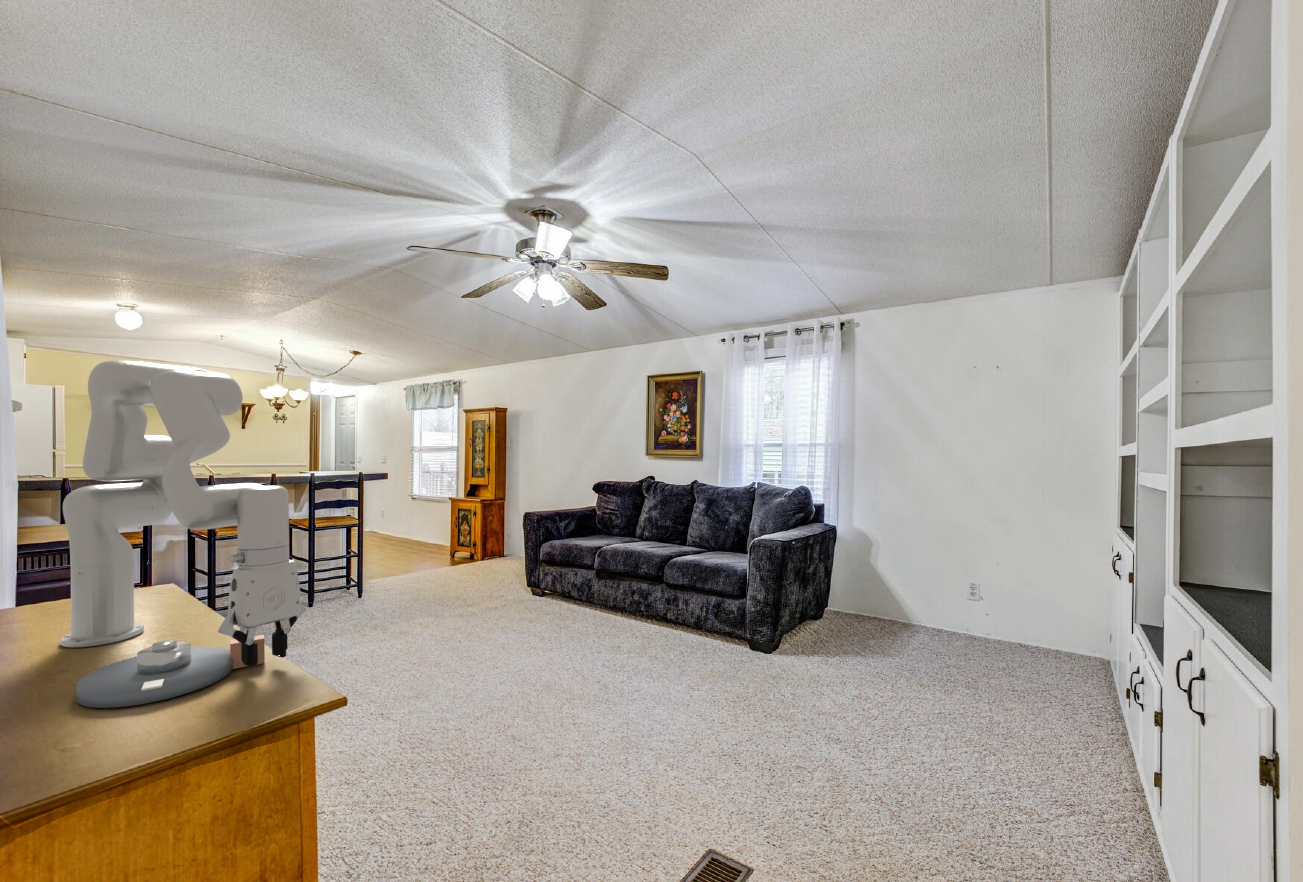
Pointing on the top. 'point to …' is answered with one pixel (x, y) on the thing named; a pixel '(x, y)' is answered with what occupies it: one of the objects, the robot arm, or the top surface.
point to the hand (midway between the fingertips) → (265, 659)
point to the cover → (163, 657)
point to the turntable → (159, 677)
